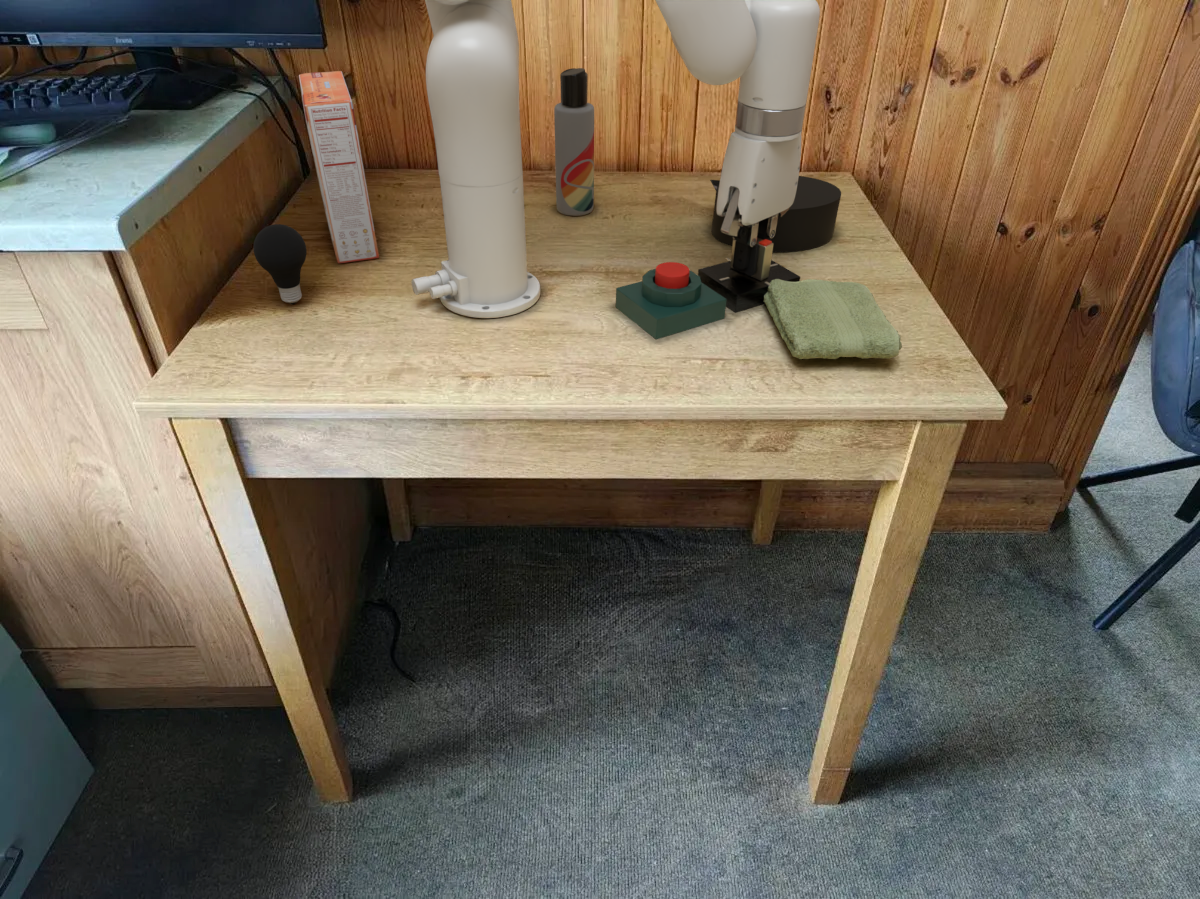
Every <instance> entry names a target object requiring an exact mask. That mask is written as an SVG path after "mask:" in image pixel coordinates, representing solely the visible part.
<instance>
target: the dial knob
mask: <svg viewBox="0 0 1200 899" xmlns="http://www.w3.org/2000/svg"><path fill="white" fill-rule="evenodd" d="M735 242H736V241H735V240H733V245H732V246H731V256H730V259H731V263H730V268H732V269H734V268H733V258H734V250H735ZM756 245H759V250H758V258H757V265H756V272H755V274H754V275H752V276H751V277H753V278H756V279H758V280H760V281H762V280H764V279H766V278H768V277H769V271H770V265H771V260H772V257H773V252H772V251H773V243H772V241H770V240H767V239H764V240H763V239H760V238H758V237H757V241H756ZM734 270H735V269H734ZM736 271H737V270H736ZM741 273H742V272H741ZM746 275H747V274H746ZM748 276H749V275H748Z"/></svg>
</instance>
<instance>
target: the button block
mask: <svg viewBox="0 0 1200 899" xmlns="http://www.w3.org/2000/svg"><path fill="white" fill-rule="evenodd" d="M655 271H656V268H652V269H650V270H648V271H647V272H646V273H645V274H644V275H642V278H641V279H642V280H641V281H637V282H633V283H630V284H626V285H622V286H618V287H615V308H616V309H617V310H618V311H620V312H621V313H622V314H623V315H625V316H626V317H627V318H628V319H629V320H631V321H632V322H633V323H635V324H636V325H637V326H638V327H640V328H641V329H642V330H643V331H645V332H646V333H647V334H648V335H650V336H651V338H654V339H655V340H660V339H662V338H666V337H669V336H672V335H676V334H679V333H682V332H686V331H688V330H692V329H696V328H698V327H702V326H706V325H709V324H712V323H715V322H718V321H722V320H725V317H726V308H727V307H726V298H724V297H723V296H721V295H720V294H718V293H717V292H715V291H714V290H712V289H711V288H709V287H708V286H706V285H705V284H703V283H702V282H701V279H700V276H698V273H697V274H696V273H695V272H694V271H692V270H691V269H689V283H688V286H687V287H683V288H680V289H668V288H664V287H660V286H658V285H656V284H655Z"/></svg>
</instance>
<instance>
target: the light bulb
mask: <svg viewBox="0 0 1200 899" xmlns="http://www.w3.org/2000/svg"><path fill="white" fill-rule="evenodd" d="M307 250H308V249H307V245H306V242H305V240H304V237H303V236H302V235H301V234H300V232H298V231H297V230H296V229H295V228H293V227H291V226H289V225H286V224H281V223H274V224H270V225H267V226H265V227H263V228H262V229H261V230H260V231H259V232H258V233H257V234H256V236H255V238H254V241H253V255H254V258H255V259H256V261H257V263H258V264H259V266H260V267H261V268H262V269H263V270H265V271H266V272H268V274H269V275H270V277H271V278H272V280H273V283H274V284H275V285H276V287H277V289H278V291H279V295H280V298H281V301H283V302H284V303H287V304H289V305H295V304H297V303H298V302H299V301H300V300H301V299H302V297H303V294H302V291H301V290H302V289H301V286H300V285H301V270H302V268H303V266H304V264H305V261H306V259H307V254H308V253H307Z"/></svg>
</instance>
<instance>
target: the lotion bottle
mask: <svg viewBox="0 0 1200 899" xmlns="http://www.w3.org/2000/svg"><path fill="white" fill-rule="evenodd" d="M559 78H560V79H559V80H560V102H559V103H556V104H555V105H554V109H553V110H554V111H553V115H554V117H553V118H554V119H553V121H554V160H555V161H554V163H555V166H554V167H555V203H556V204H555V205H556V210H557V211H558V213H560V214H562V215H565V216H570V217H580V216H585V215H588V214H591V213H592V212H593V211H594V207H595V206H594V204H595V106H594V105H593V104H592V103H590V102H588V101H589V100H588V88H589V87H588V86H589V85H588V84H589V83H588V82H589V75H588V73H587V71H586V69H585V68H582V67H576V68H575V67H574V68H573V67H572V68H568V69H565V70H563V71H562V72H561V73H560V75H559Z"/></svg>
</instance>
